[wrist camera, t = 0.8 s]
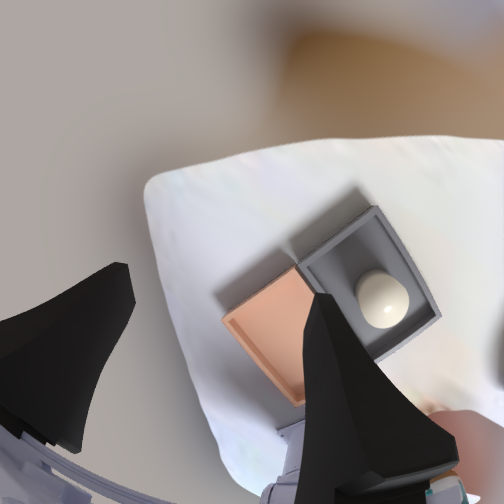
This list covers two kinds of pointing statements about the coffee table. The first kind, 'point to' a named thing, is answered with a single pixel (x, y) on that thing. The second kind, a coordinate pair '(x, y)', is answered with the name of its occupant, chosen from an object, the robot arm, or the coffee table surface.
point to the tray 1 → (276, 330)
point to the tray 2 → (359, 261)
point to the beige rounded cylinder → (381, 298)
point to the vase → (447, 484)
